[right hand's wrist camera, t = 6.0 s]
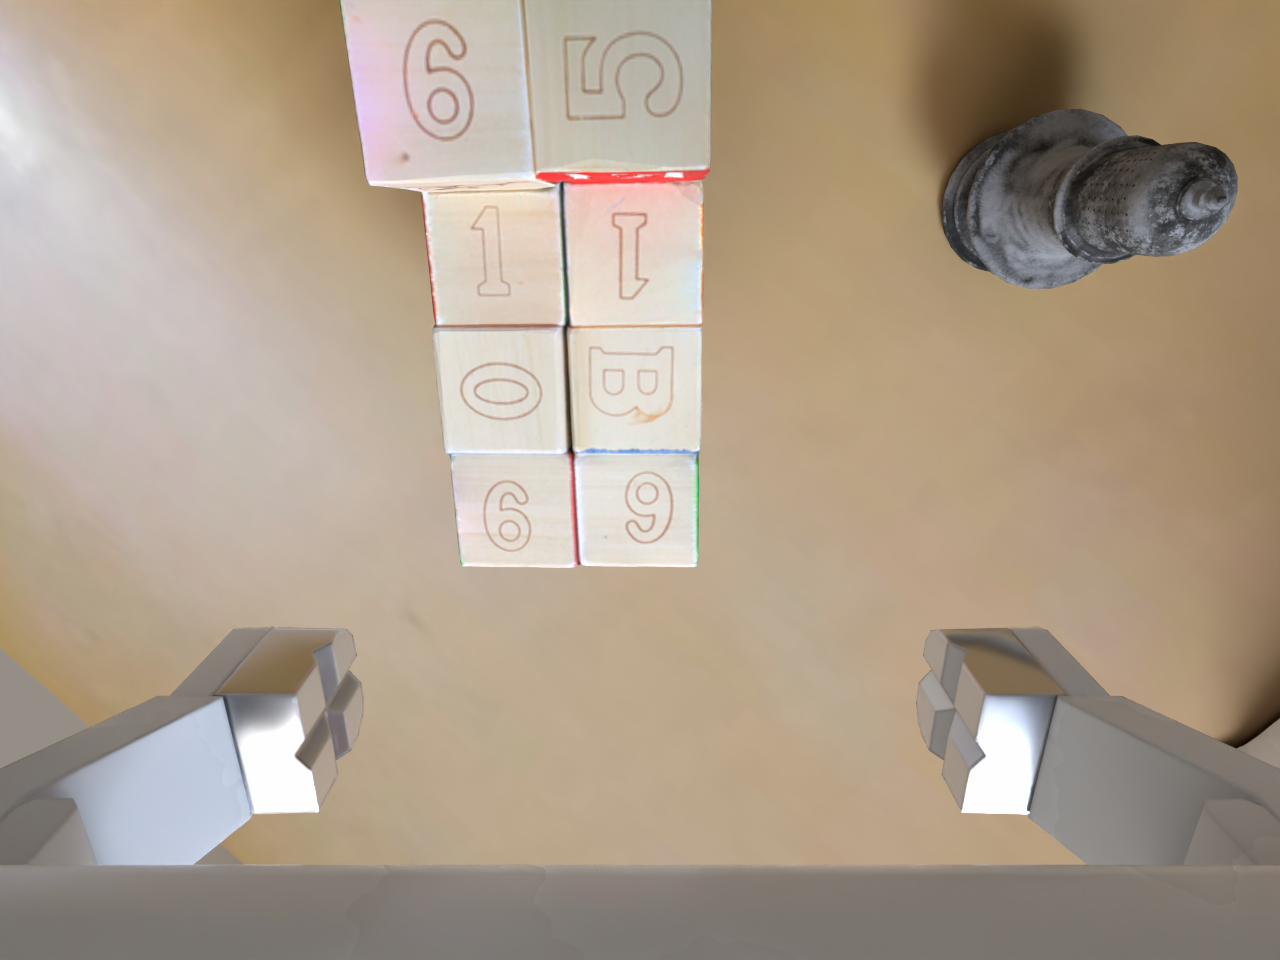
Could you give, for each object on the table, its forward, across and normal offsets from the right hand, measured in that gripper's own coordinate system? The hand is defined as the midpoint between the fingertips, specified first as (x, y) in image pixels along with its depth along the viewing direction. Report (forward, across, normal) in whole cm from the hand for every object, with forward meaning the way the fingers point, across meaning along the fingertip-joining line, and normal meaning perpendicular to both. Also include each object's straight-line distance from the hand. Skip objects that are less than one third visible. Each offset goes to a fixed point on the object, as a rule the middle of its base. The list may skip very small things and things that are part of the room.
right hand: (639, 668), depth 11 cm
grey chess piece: (+22, -15, -6) cm, 27 cm away
